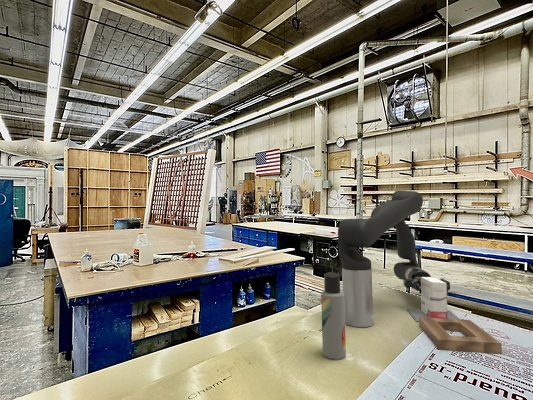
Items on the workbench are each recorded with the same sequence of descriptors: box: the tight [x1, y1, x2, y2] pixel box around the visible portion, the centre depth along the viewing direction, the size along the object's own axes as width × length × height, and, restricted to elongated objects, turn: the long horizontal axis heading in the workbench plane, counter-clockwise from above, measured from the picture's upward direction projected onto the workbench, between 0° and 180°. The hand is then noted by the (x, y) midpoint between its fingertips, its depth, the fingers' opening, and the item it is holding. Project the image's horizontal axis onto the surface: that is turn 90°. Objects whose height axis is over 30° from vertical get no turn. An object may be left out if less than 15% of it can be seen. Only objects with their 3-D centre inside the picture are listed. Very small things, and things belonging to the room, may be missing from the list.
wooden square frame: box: [418, 317, 503, 355], centre depth 79 cm, size 14×16×2 cm
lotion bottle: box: [320, 271, 347, 360], centre depth 72 cm, size 6×6×20 cm
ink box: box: [420, 276, 448, 319], centre depth 96 cm, size 9×5×12 cm, turn 174°
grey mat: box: [405, 308, 461, 323], centre depth 96 cm, size 14×12×1 cm
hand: (432, 288), depth 96 cm, fingers open, 8 cm apart
